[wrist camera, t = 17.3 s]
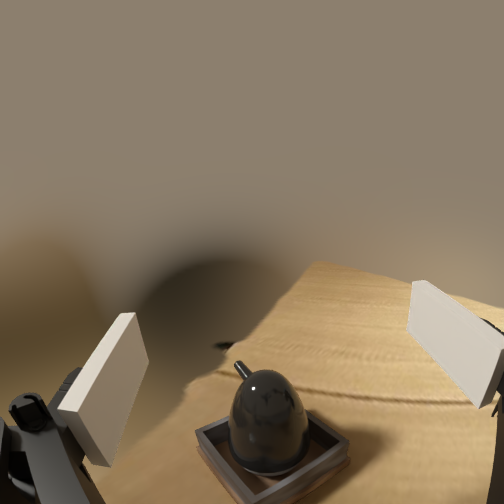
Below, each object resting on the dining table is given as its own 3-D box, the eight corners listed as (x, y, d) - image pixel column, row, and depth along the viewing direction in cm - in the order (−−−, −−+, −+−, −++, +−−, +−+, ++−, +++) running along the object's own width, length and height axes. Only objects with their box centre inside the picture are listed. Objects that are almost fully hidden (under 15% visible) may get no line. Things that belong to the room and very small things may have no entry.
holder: (281, 412, 45) (280, 387, 43) (349, 463, 32) (354, 440, 31) (198, 452, 37) (190, 429, 36) (255, 525, 25) (251, 508, 23)
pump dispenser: (275, 420, 41) (270, 338, 37) (325, 457, 33) (334, 373, 29) (217, 452, 36) (196, 370, 31) (263, 500, 27) (252, 424, 23)
